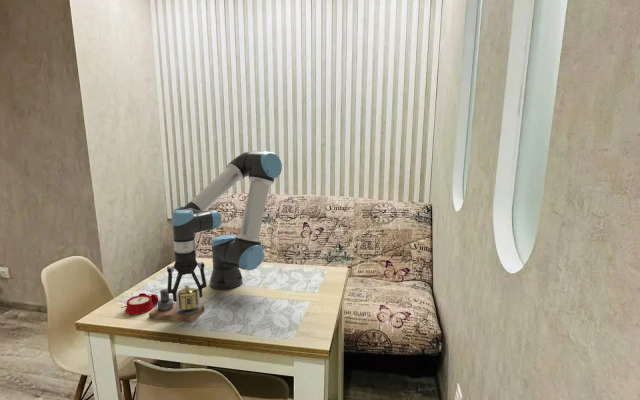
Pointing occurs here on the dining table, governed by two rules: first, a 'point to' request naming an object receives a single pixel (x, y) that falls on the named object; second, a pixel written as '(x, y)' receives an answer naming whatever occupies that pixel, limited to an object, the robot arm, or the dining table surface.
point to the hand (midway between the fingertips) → (188, 306)
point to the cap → (187, 298)
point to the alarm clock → (141, 303)
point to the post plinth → (174, 310)
